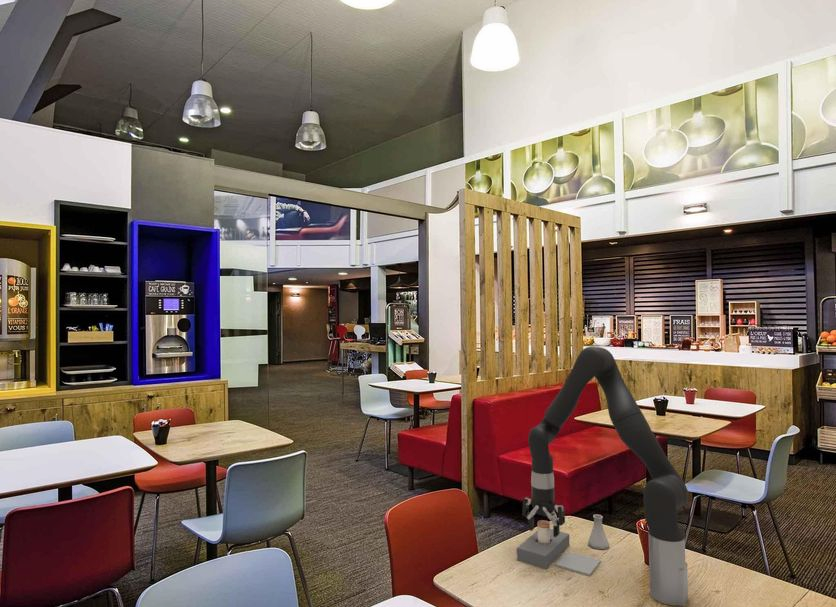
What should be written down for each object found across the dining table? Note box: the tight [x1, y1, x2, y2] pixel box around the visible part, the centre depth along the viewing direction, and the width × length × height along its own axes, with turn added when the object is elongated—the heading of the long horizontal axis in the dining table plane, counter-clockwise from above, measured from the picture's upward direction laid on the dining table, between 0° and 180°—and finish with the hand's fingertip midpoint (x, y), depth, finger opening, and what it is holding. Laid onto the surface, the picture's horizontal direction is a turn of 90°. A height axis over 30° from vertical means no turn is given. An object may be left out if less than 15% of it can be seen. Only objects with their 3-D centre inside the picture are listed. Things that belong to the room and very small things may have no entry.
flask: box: [587, 514, 610, 550], centre depth 175 cm, size 7×7×10 cm
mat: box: [554, 550, 602, 577], centre depth 162 cm, size 11×11×1 cm
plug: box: [536, 519, 551, 545], centre depth 170 cm, size 4×4×10 cm
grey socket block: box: [516, 528, 571, 570], centre depth 170 cm, size 10×20×4 cm, turn 143°
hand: (543, 532), depth 170 cm, fingers open, 8 cm apart
